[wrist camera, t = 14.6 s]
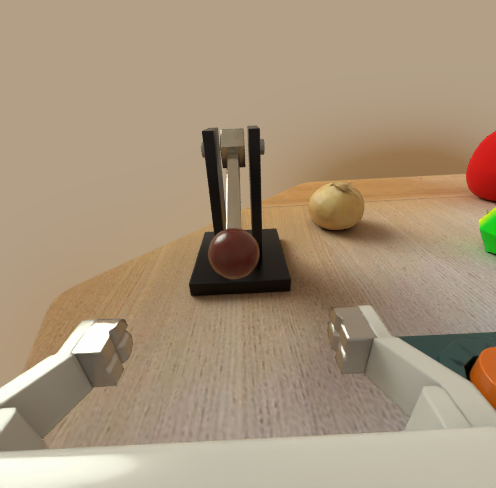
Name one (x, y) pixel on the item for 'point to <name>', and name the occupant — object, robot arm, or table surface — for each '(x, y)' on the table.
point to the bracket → (271, 254)
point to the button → (485, 375)
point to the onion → (336, 206)
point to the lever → (233, 216)
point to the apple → (489, 230)
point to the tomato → (483, 169)
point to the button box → (454, 349)
